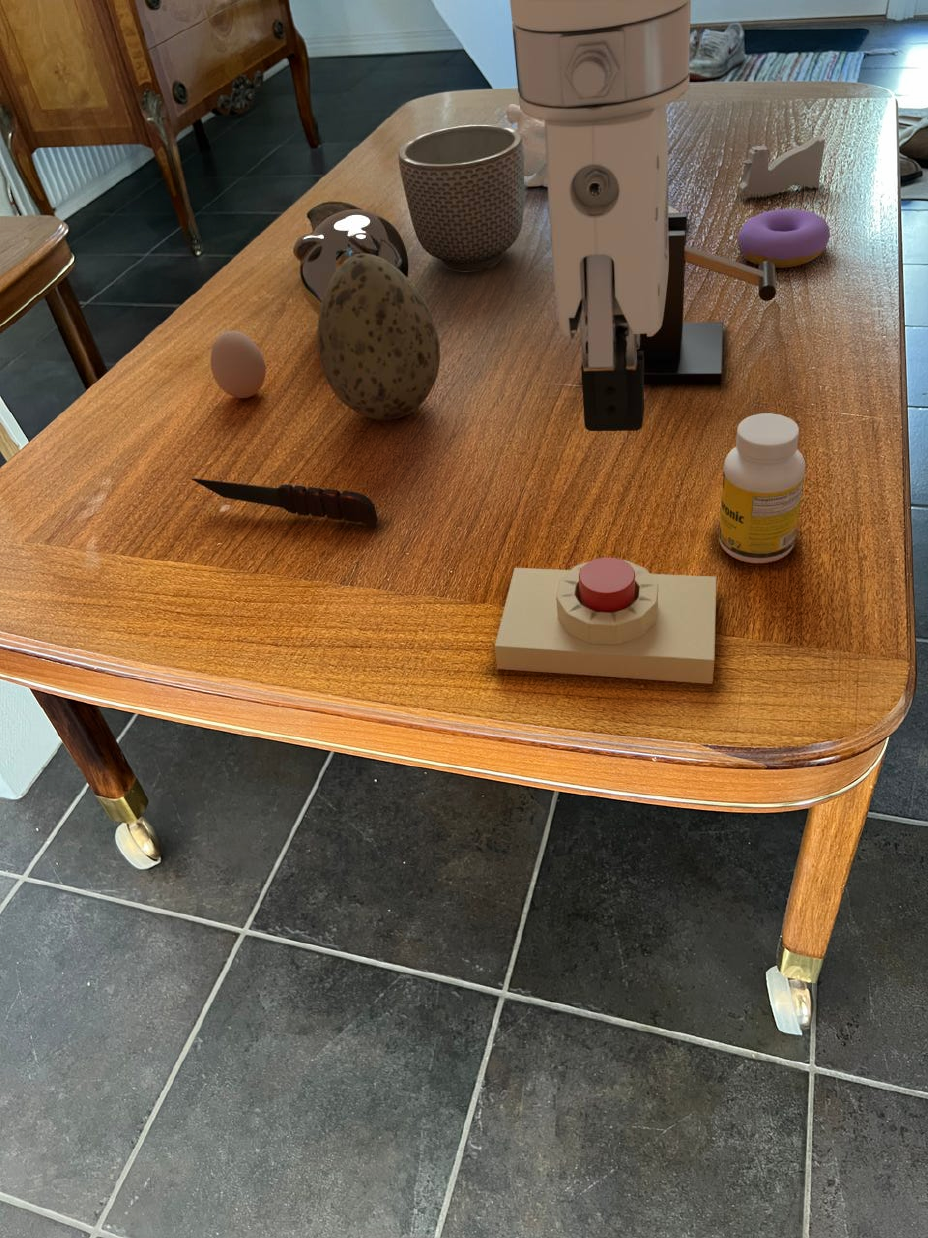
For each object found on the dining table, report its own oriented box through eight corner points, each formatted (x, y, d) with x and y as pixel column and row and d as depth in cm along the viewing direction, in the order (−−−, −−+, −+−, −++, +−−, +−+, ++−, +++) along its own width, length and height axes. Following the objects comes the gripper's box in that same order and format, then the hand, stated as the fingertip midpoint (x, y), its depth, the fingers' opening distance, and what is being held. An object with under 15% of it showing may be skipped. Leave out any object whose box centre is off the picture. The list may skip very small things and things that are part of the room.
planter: (536, 232, 117) (529, 118, 108) (524, 282, 107) (515, 161, 98) (426, 239, 120) (410, 128, 111) (404, 288, 110) (385, 170, 101)
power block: (714, 600, 66) (718, 555, 64) (712, 684, 61) (716, 639, 58) (516, 590, 70) (512, 547, 67) (497, 669, 64) (491, 626, 61)
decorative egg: (322, 403, 93) (284, 251, 83) (425, 372, 95) (400, 220, 85) (354, 457, 85) (316, 296, 75) (465, 421, 87) (443, 260, 77)
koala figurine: (578, 173, 130) (574, 75, 122) (571, 191, 126) (567, 91, 118) (517, 175, 132) (510, 80, 124) (508, 194, 128) (500, 95, 120)
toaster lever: (767, 282, 87) (780, 258, 85) (768, 308, 83) (781, 283, 82) (641, 241, 87) (651, 215, 85) (637, 264, 83) (647, 238, 81)
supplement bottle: (711, 523, 72) (719, 411, 66) (783, 516, 72) (799, 402, 65) (725, 569, 68) (736, 454, 62) (802, 562, 68) (821, 446, 61)
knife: (197, 506, 82) (186, 478, 80) (203, 500, 83) (192, 471, 81) (375, 529, 77) (368, 499, 75) (379, 522, 78) (372, 492, 76)
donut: (801, 277, 99) (797, 229, 97) (723, 277, 106) (718, 233, 103) (847, 241, 104) (845, 195, 101) (770, 244, 110) (766, 201, 108)
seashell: (317, 234, 124) (318, 178, 119) (385, 244, 124) (389, 188, 120) (291, 287, 112) (291, 227, 107) (367, 297, 112) (370, 238, 108)
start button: (637, 578, 64) (637, 557, 62) (632, 614, 61) (632, 594, 60) (583, 575, 64) (582, 555, 63) (576, 611, 62) (575, 591, 61)
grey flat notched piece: (818, 188, 117) (739, 201, 117) (813, 184, 118) (734, 197, 118) (825, 138, 113) (743, 151, 113) (820, 135, 114) (739, 148, 114)
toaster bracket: (722, 332, 94) (732, 199, 85) (721, 385, 87) (731, 245, 78) (599, 334, 96) (597, 205, 88) (588, 385, 89) (584, 250, 81)
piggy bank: (293, 357, 100) (265, 250, 93) (337, 293, 111) (315, 192, 103) (394, 357, 98) (373, 247, 90) (429, 292, 108) (414, 187, 100)
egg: (282, 392, 95) (264, 329, 91) (238, 414, 93) (218, 350, 88) (255, 377, 98) (236, 314, 94) (212, 397, 96) (191, 335, 92)
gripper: (683, 102, 36) (677, 502, 48) (695, 9, 46) (687, 356, 58) (486, 120, 37) (529, 501, 50) (541, 26, 48) (565, 360, 60)
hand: (614, 422), depth 54 cm, fingers closed
